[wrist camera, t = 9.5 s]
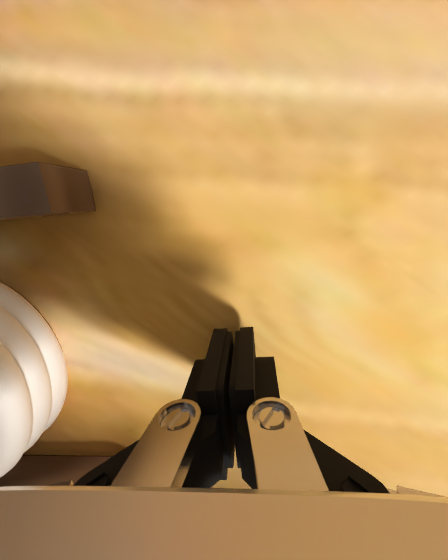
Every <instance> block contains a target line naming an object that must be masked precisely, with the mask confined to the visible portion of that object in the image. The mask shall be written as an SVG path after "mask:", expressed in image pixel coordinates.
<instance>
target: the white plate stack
mask: <svg viewBox="0 0 448 560" xmlns="http://www.w3.org/2000/svg"><path fill="white" fill-rule="evenodd" d="M67 389H68V373H67V366H66V361H65V358H64V355H63V351H62V349H61V347H60V344H59V342H58V340H57V338H56V336H55V335H54V333H53V331H52V330H51V328H50V326H49V325H48V324H47V322H46V321H45V320H44V318H43V317H42V316H41V314H40V313H39V312H38V311H37V310H36V309H35V308H34V307H33V306H32V305H31V304H30V303H29V302H28V301H27V300H25V299H24V298H23V297H22V296H21V295H20V294H18V293H17V292H15V291H14V290H13V289H11V288H10V287H8V286H7V285H5V284H3V283H1V282H0V477H2V476H3V475H5V474H6V473H7V472H8V471H10V470H11V469H12V468H13V467H14V466H15V465H16V464H17V463H18V461H19V460H20V459H21V457H22V455H23V453H24V452H26V451H27V450H28V449H29V448H30V447H32V446H33V445H34V444H35V443H36V441H37V440H38V439H39V438H40V436H41V434H42V433H43V432H44V431H45V430H46V429H48V428H49V427H50V426H51V425H52V423H53V422H54V421H55V420H56V418H57V416H58V415H59V413H60V411H61V409H62V407H63V405H64V402H65V399H66V396H67Z"/></svg>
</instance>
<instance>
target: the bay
mask: <svg viewBox="0 0 448 560" xmlns="http://www.w3.org/2000/svg"><path fill="white" fill-rule="evenodd" d="M94 210H95V205H94V201H93V196H92V192H91V187H90V183H89V178H88V174H87V171H85V170H79V169H74V168H69V167H63V166H58V165H53V164H47V163H42V162H33V163H25V164H18V165H10V166H2V167H0V220H7V219H17V218H27V217H36V216H46V215H55V214H65V213H74V212H84V211H94ZM110 458H111V457H104V456H25V455H22V457H21V459H20V460H19V461H18V463H17V464H16V465H15V466H14V467H13V468H12V469H11V470H10V471H8V472H7V473H6V474H5V475H3V476H2V477H0V487H5V486H45V485H49V484H54V483H59V482H63V481H68V480H72V482H73V484H75V483H76V482H77V481H78V480H79V479H80V478H81V477H82V476H84V475H85V474H86V473H87V472H89V471H91V470H92V469H94V468H95V467H97V466H98V465H100V464H102V463H103V462H105V461H106V460H108V459H110Z"/></svg>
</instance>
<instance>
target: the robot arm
mask: <svg viewBox="0 0 448 560" xmlns="http://www.w3.org/2000/svg"><path fill="white" fill-rule="evenodd" d="M235 449H236V457H237V465H238V468H241V471H242V478H243V480H244V481H245V482H246V483H247V484H248V485H249V486H250V487H251V488H252V489H226V488H213V485H215V484H216V483H217V482H218V481H219V480H227V470H228V468H233V466H234V452H235ZM0 560H448V497H444V496H440V495H436V494H431V493H427V492H422V491H418V490H414V489H409V488H405V487H401V486H397V491H395V490H391V489H386V487H385V486H384V485H383V484H382V483H381V482H380V481H378V480H377V479H376V478H375V477H374V476H372V475H371V474H369V473H368V472H366V471H365V470H363V469H362V468H360V467H359V466H357V465H356V464H354V463H353V462H351V461H350V460H348V459H347V458H345V457H344V456H342V455H341V454H339V453H338V452H336V451H335V450H333V449H332V448H330V447H329V446H327V445H326V444H324V443H323V442H321V441H320V440H318V439H317V438H315V437H314V436H312V435H311V434H309V433H308V432H306V431H305V430H303V428H302V425H301V423H300V421H299V418H298V416H297V413H296V411H295V410H294V408H293V406H292V405H290V404H289V403H288V402H287V401H284V400H282V399H280V396H279V389H278V382H277V375H276V368H275V362H274V357H256V354H255V343H254V331H253V327H242V328H240V331H236V332H235V341H234V343H233V334H232V331H230V332H228V330H227V328H224V329H214V331H213V335H212V338H211V342H210V345H209V348H208V352H207V355H206V359H203V360H196V361H195V362H194V365H193V368H192V371H191V374H190V377H189V379H188V382H187V385H186V388H185V391H184V394H183V396H182V399H179V400H174V401H172V402H169V403H167V404H166V405H164V406H163V407H162V408H160V410H159V411H158V412H157V413H156V415H155V416H154V418H153V419H152V421H151V422H150V424H149V426H148V427H147V429H146V430H145V432H144V433H143V435H142V437H141V438H140V439H139V440H138V441H136V442H135V443H133V444H132V445H130V446H128V447H127V448H125V449H124V450H122V451H121V452H119V453H117V454H116V455H114V456H113V457H111V458H110V459H108V460H106V461H105V462H103V463H102V464H100V465H98V466H97V467H95V468H94V469H92V470H91V471H89V472H87V473H86V474H85V475H84V476H82V477H81V478H80V479H79V480H78V481H77V482H76V483H75V484H73V482H72V480H68V481H63V482H59V483H54V484H49V485H45V486H5V487H0Z"/></svg>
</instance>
